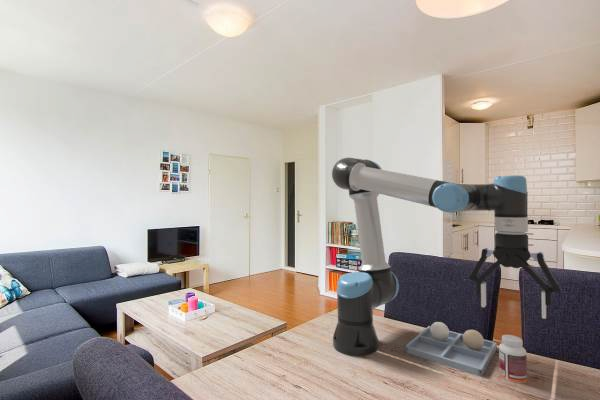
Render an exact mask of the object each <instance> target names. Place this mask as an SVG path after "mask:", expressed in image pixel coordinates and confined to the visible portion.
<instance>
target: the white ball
mask: <svg viewBox="0 0 600 400" xmlns="http://www.w3.org/2000/svg"><path fill="white" fill-rule="evenodd" d="M449 331H450V329H449V327H448V326H447V325H446V324H445V323H444V322H441V321H435V322H433V323H432V324H431V327H430V333H431V335H432V337H433V338H434V339H436V340H438V341H444V340H446V339H447V338H448V336H449Z"/></svg>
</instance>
